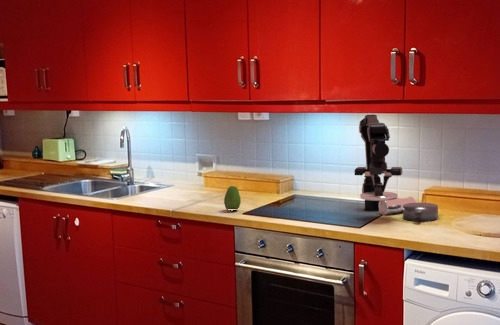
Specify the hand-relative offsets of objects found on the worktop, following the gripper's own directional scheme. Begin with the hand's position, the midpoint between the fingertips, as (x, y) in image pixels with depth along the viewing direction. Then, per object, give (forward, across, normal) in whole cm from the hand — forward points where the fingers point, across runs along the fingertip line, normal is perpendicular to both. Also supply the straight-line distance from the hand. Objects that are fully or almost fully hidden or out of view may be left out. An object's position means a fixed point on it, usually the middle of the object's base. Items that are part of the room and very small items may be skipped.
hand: (378, 191), depth 245 cm
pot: (+12, +16, +3) cm, 20 cm away
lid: (+2, 0, 0) cm, 2 cm away
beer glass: (+9, +11, +19) cm, 24 cm away
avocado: (+12, -69, +7) cm, 70 cm away
